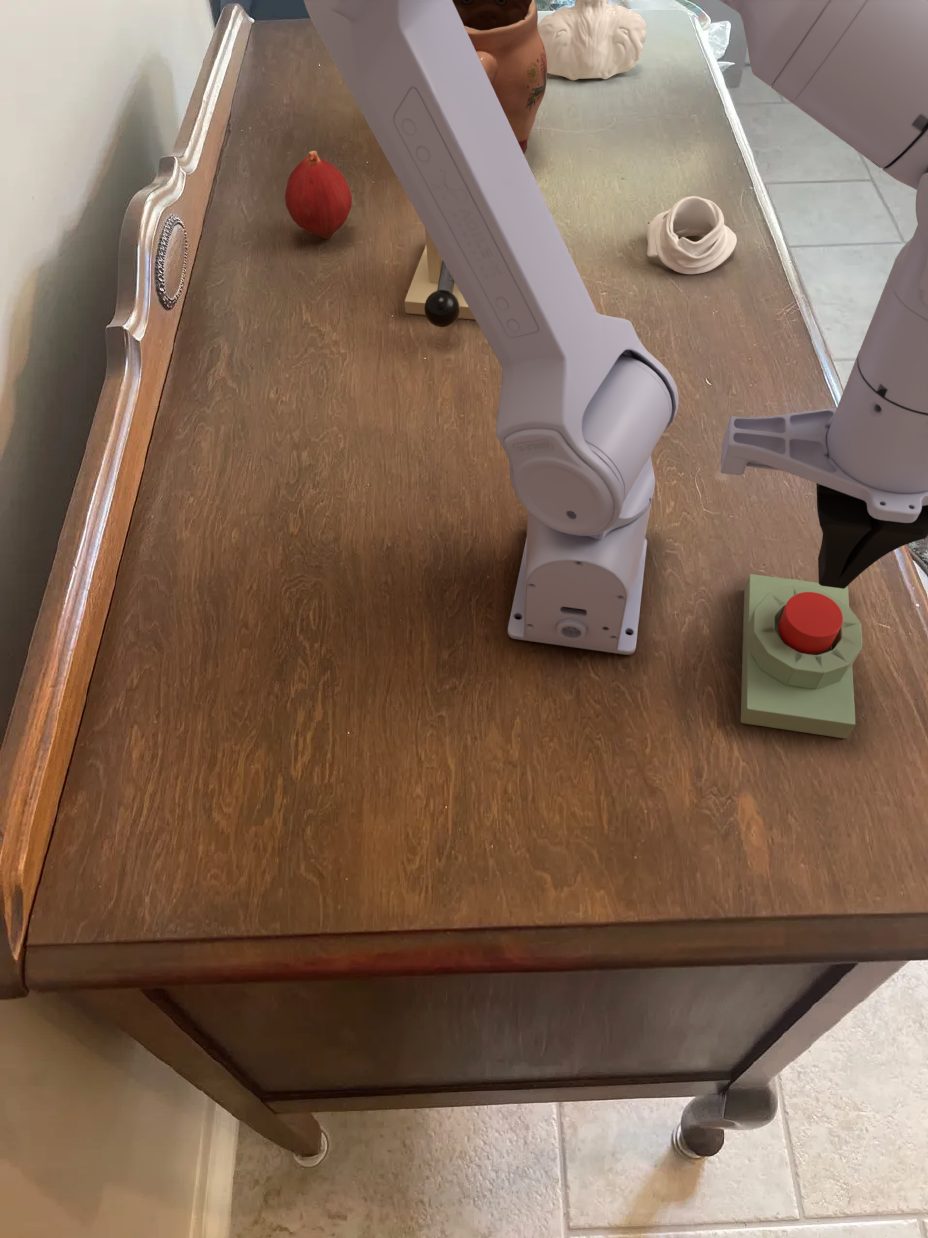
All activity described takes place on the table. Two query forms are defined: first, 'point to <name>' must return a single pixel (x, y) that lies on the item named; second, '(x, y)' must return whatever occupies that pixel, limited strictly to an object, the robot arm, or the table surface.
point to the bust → (592, 40)
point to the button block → (796, 664)
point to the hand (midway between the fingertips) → (831, 572)
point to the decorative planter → (509, 56)
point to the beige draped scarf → (690, 221)
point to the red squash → (318, 196)
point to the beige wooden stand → (430, 283)
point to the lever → (442, 301)
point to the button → (810, 622)
